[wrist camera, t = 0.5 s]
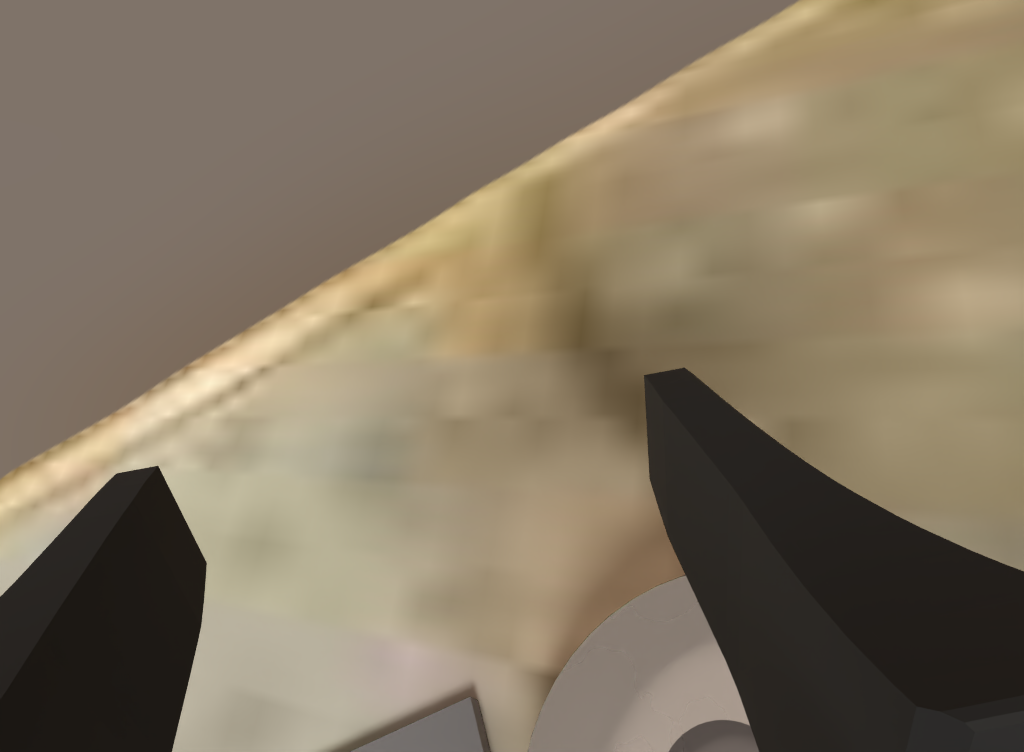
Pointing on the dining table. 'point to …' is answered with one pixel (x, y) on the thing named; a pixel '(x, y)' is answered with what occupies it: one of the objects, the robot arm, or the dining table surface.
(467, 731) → the charcoal mat
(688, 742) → the steel lid
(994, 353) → the dining table surface
